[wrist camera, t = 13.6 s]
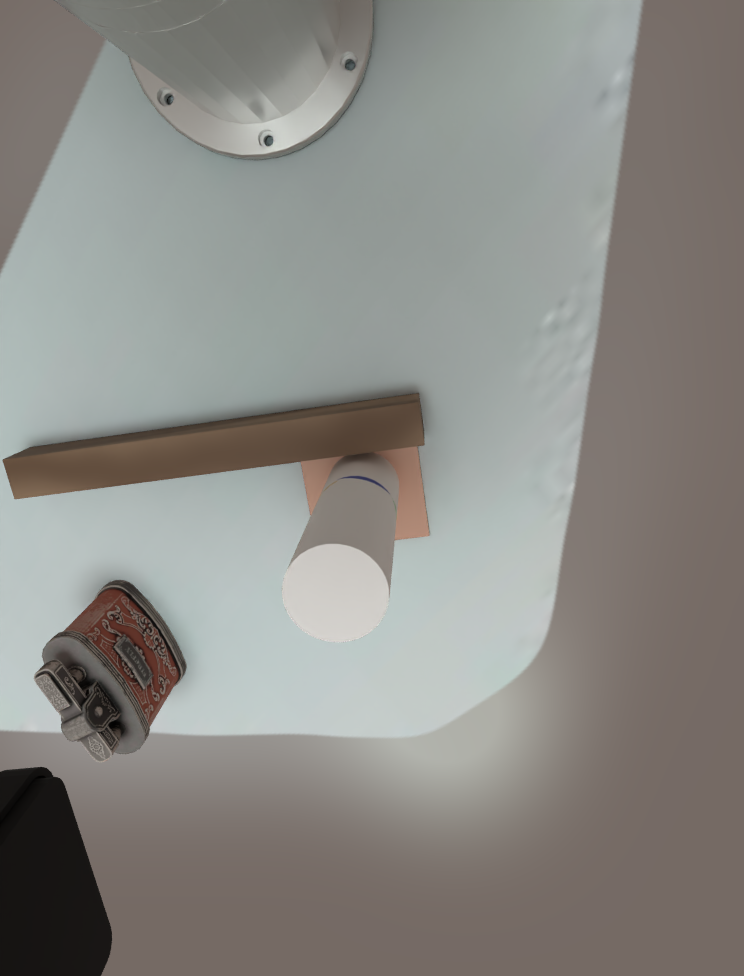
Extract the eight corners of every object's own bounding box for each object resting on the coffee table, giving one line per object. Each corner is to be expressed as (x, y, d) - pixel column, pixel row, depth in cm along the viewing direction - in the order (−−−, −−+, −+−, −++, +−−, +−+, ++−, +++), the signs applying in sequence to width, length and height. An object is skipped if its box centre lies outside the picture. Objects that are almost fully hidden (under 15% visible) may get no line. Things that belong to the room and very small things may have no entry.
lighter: (197, 670, 47) (141, 770, 38) (156, 690, 48) (91, 793, 38) (130, 571, 46) (53, 650, 36) (88, 593, 46) (2, 676, 37)
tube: (350, 530, 43) (316, 658, 29) (315, 471, 42) (261, 573, 28) (412, 499, 43) (408, 615, 28) (377, 438, 42) (355, 525, 27)
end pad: (300, 454, 42) (299, 456, 42) (416, 439, 42) (416, 440, 41) (317, 547, 44) (316, 549, 44) (429, 534, 43) (429, 535, 43)
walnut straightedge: (30, 447, 43) (2, 459, 41) (418, 393, 41) (418, 402, 38) (40, 484, 44) (14, 499, 41) (424, 433, 42) (424, 445, 39)
